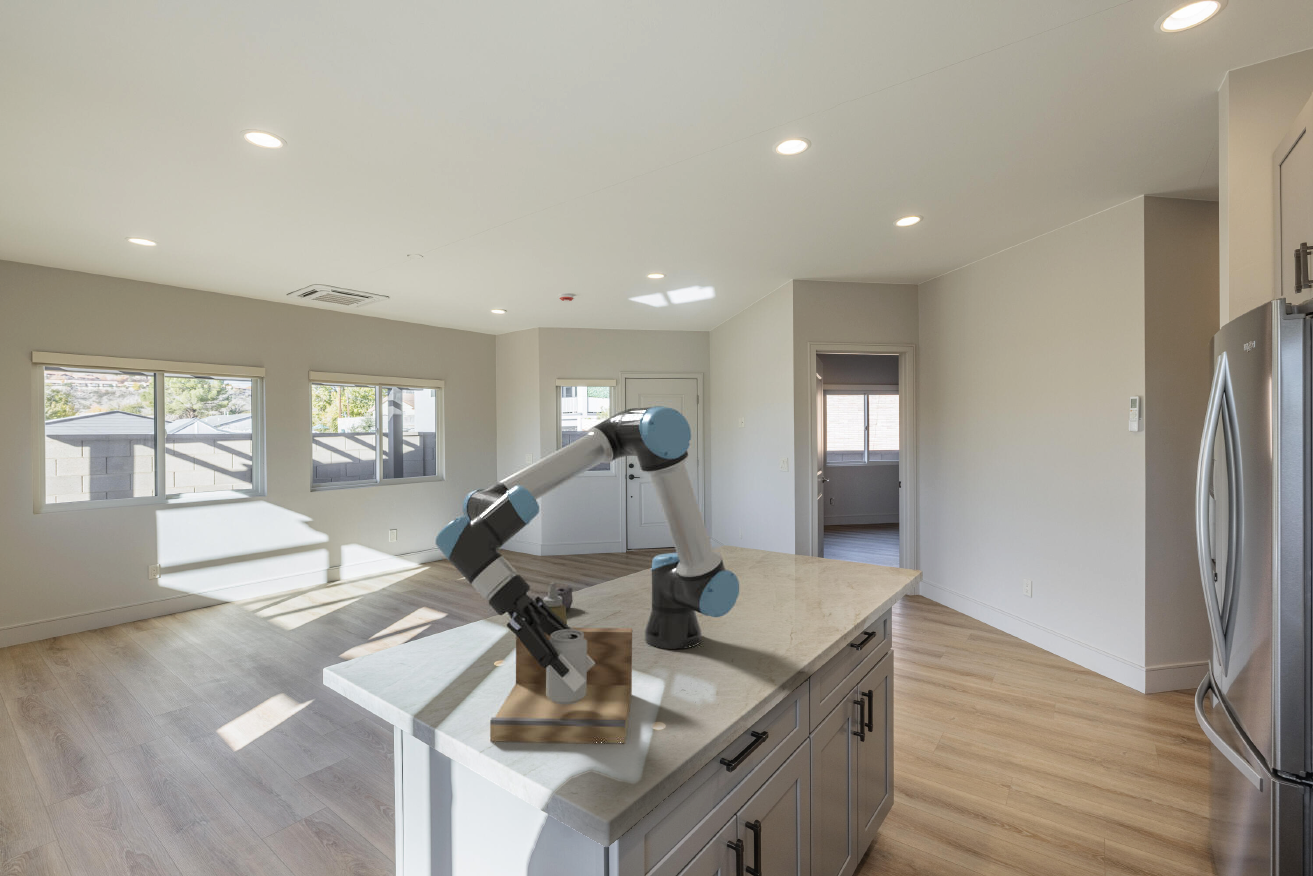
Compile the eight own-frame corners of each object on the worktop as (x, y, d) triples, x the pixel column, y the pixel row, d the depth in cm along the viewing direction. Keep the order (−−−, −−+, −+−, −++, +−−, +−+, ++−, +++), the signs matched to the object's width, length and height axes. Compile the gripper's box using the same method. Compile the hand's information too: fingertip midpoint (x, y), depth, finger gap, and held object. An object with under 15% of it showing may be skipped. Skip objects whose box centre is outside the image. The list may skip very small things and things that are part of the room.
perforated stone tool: (544, 621, 174) (544, 597, 174) (531, 618, 177) (531, 594, 176) (577, 608, 186) (578, 586, 186) (565, 606, 189) (565, 584, 189)
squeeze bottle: (575, 653, 148) (575, 581, 148) (556, 664, 141) (557, 589, 141) (548, 648, 152) (548, 578, 152) (528, 658, 144) (529, 585, 144)
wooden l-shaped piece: (631, 694, 125) (632, 628, 125) (624, 743, 105) (625, 665, 105) (518, 692, 125) (519, 626, 125) (490, 741, 105) (490, 663, 105)
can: (588, 704, 108) (589, 639, 108) (547, 708, 106) (547, 641, 106) (584, 687, 115) (584, 626, 115) (545, 690, 113) (545, 628, 113)
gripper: (507, 586, 122) (583, 669, 120) (465, 616, 102) (556, 716, 100) (532, 561, 121) (609, 644, 120) (495, 586, 101) (587, 686, 100)
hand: (585, 676), depth 110 cm, fingers closed on can, 7 cm apart
